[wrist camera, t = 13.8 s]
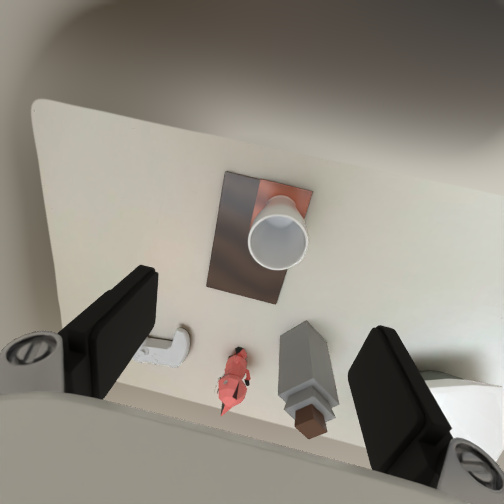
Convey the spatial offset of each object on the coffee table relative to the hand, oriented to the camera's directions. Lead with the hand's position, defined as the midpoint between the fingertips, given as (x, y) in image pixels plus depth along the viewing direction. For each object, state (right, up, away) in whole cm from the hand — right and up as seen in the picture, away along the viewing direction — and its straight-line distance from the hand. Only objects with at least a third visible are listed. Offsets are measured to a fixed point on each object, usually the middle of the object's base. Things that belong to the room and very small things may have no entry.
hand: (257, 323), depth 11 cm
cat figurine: (-3, -20, +45) cm, 50 cm away
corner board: (0, +5, +34) cm, 35 cm away
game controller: (-20, -16, +46) cm, 53 cm away
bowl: (+34, -26, +43) cm, 61 cm away
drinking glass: (+4, +10, +30) cm, 32 cm away
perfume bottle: (+10, -15, +41) cm, 45 cm away
